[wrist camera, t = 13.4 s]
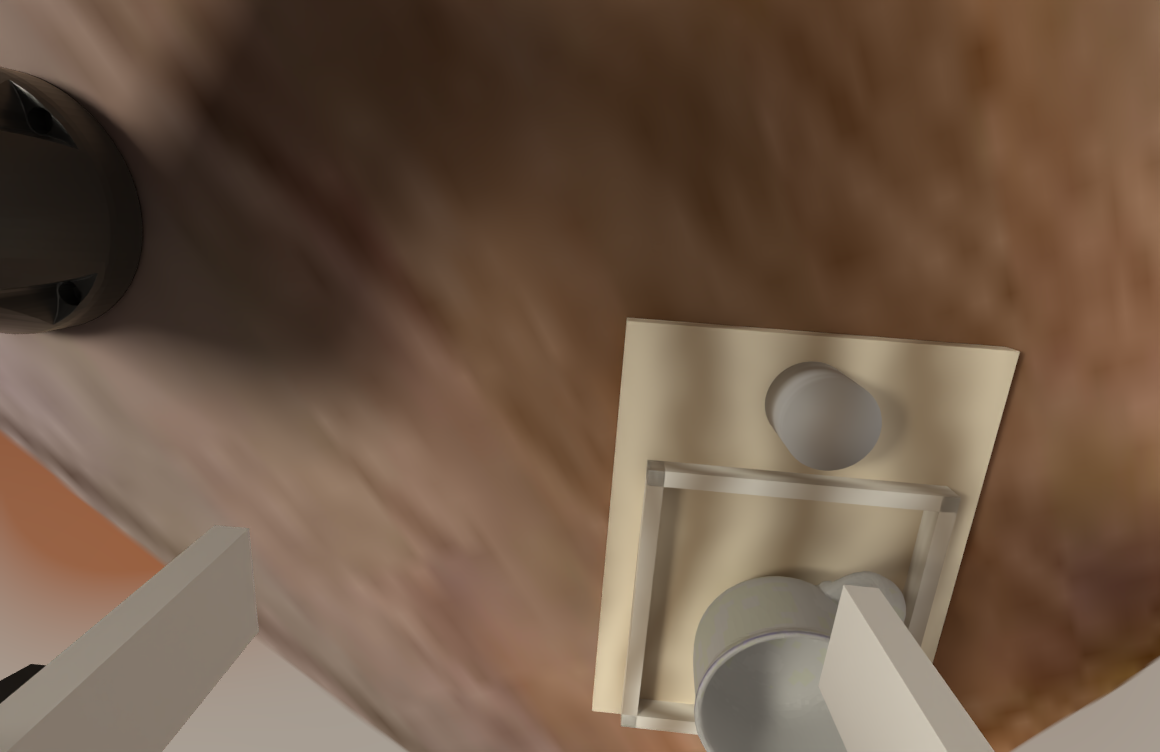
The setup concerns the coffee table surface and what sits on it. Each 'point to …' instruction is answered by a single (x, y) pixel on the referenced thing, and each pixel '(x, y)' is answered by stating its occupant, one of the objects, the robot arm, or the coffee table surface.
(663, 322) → the carrier board
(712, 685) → the teacup
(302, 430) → the coffee table surface
